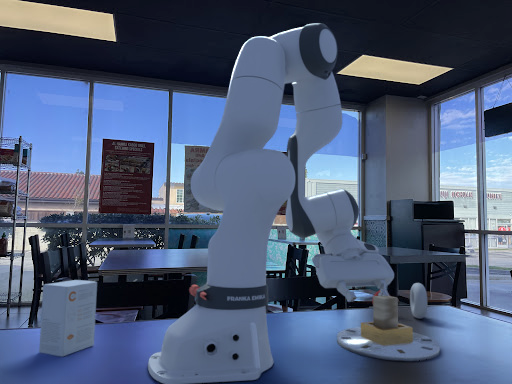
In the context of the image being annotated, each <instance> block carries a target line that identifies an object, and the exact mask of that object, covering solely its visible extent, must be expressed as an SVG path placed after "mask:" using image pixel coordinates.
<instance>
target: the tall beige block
mask: <svg viewBox="0 0 512 384" xmlns="http://www.w3.org/2000/svg"><path fill="white" fill-rule="evenodd" d="M372 299H373V304H372V306H373V309H372V310H373V312H372V313H373V321H374V326H377V327H379V328H382V329H387V328H398V323H399V298H398V297H396V296H391V295H390V296H388V295H387V296H374V295H373V297H372Z"/></svg>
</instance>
